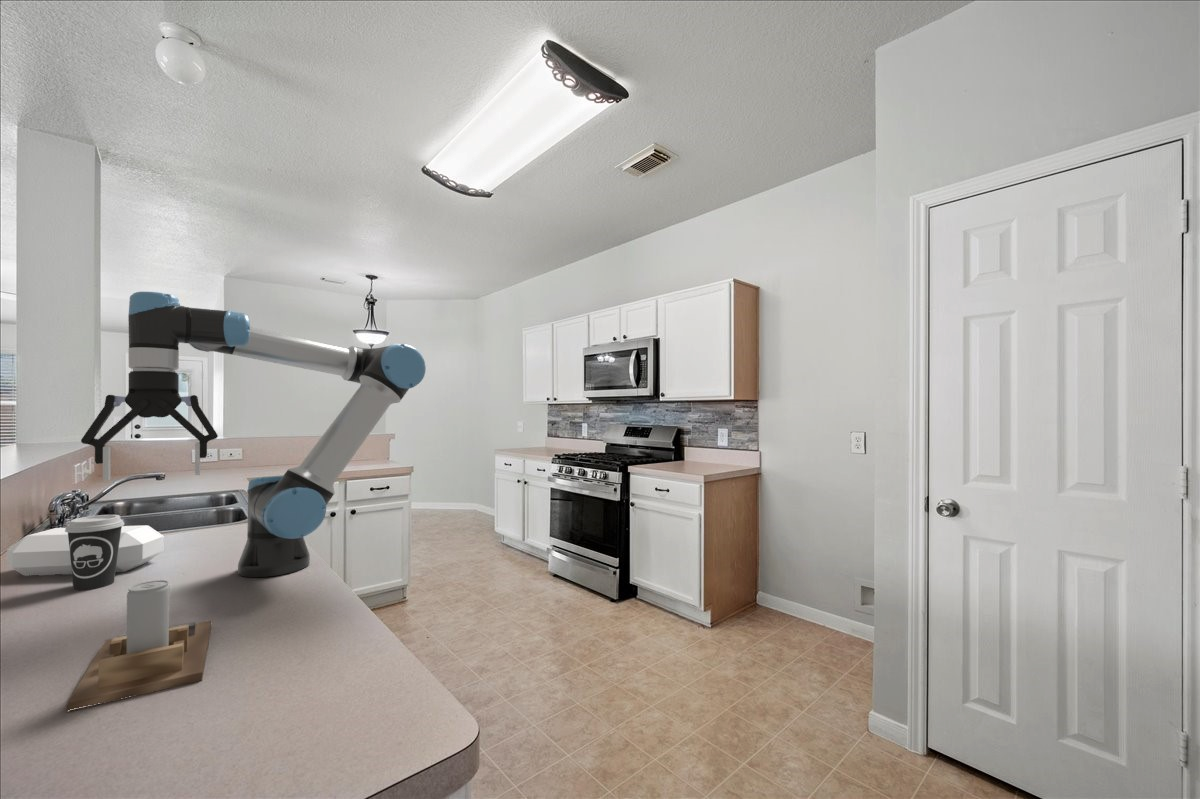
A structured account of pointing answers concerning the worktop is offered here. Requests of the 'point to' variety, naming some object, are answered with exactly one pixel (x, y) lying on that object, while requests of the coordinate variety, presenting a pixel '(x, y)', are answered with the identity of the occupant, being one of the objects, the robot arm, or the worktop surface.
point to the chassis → (144, 666)
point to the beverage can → (147, 616)
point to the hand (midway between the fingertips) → (154, 477)
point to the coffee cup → (94, 550)
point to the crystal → (53, 553)
